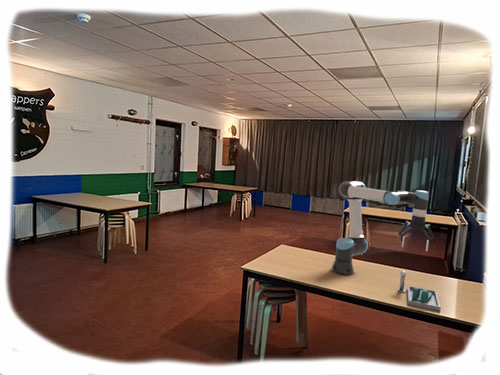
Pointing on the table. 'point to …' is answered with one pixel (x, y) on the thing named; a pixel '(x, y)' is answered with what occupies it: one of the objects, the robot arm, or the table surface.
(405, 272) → the ball stud
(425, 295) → the bracket
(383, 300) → the table surface
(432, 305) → the bin
